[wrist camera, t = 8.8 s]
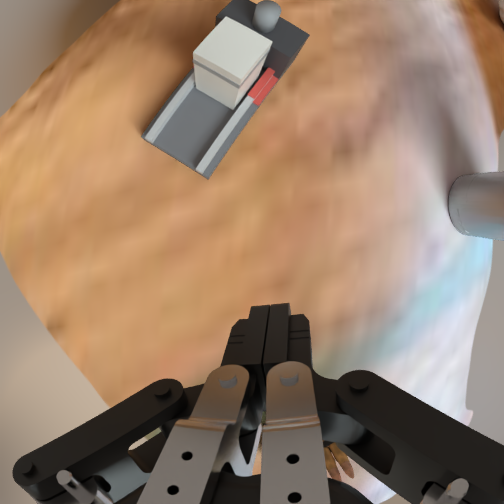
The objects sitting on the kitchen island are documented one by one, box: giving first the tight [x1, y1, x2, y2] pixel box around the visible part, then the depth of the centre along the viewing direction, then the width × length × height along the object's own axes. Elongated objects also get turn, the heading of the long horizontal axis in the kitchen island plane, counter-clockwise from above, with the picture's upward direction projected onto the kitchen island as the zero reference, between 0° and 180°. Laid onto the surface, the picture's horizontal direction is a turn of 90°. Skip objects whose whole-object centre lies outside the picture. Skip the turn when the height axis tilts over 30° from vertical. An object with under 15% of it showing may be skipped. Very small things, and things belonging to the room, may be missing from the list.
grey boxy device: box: [141, 0, 310, 179], centre depth 29 cm, size 18×9×10 cm, turn 147°
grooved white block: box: [193, 16, 272, 110], centre depth 28 cm, size 5×5×9 cm
